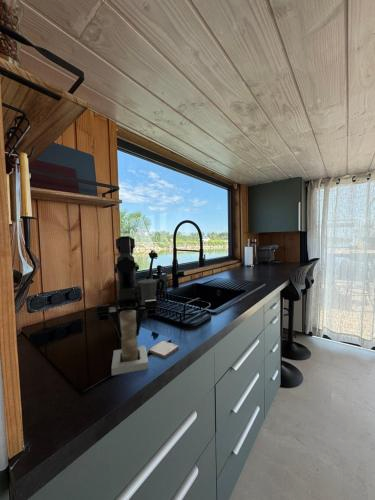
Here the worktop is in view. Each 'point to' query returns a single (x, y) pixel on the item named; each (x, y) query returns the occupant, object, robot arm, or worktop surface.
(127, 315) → the peg
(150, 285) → the coffeepot
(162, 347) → the tile
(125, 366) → the holder
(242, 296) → the worktop surface
